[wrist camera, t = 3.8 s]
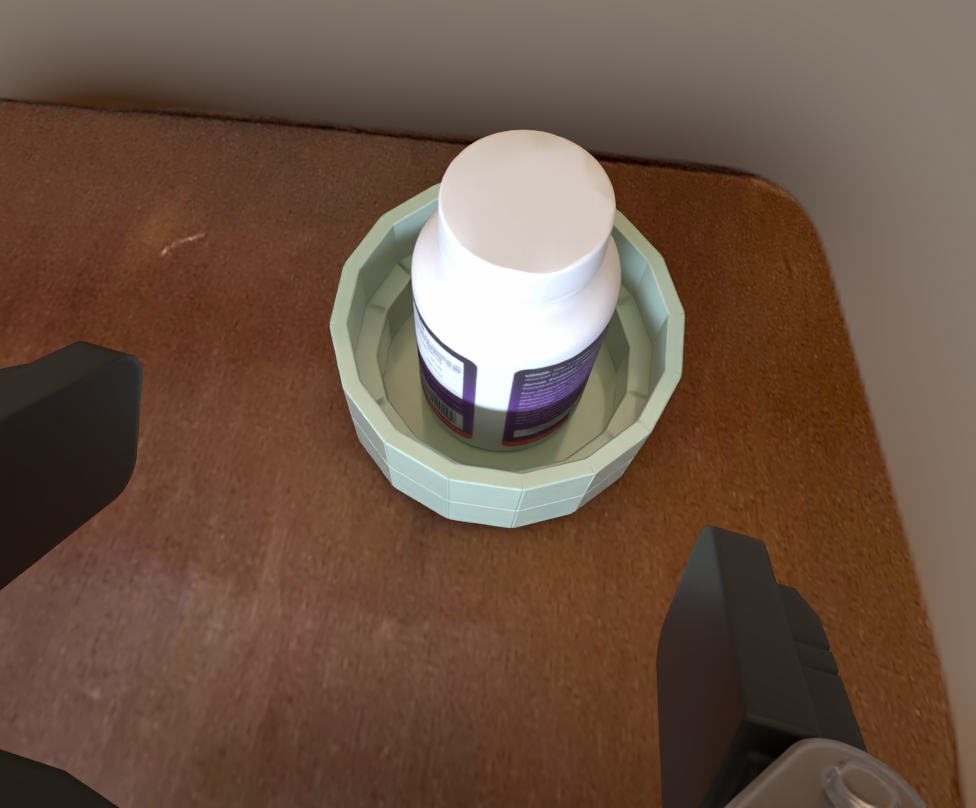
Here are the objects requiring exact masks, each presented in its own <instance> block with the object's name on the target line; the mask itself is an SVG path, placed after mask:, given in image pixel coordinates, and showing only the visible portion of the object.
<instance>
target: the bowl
mask: <svg viewBox="0 0 976 808" xmlns="http://www.w3.org/2000/svg"><path fill="white" fill-rule="evenodd" d="M440 185H441V183H438V184H436V185H434V186H432V187H430V188H428V189H427V190H425V191H423V192H421V193H420V194H418V195H416V196H415V197H413V198H411V199H409V200H408V201H406V202H404V203H403V204H401V205H399V206H397V207H396V208H394V209H392V210H391V211H389V212H387V213H385V214H384V215H383V216H381V217H380V219H379V220H378V221H377V222H376V224H375V225H374V226H373V228H372V229H371V230H370V231H369V233H368V234H367V235H366V237H365V238H364V239H363V240H362V242H361V243H360V244H359V246H358V247H357V248H356V249H355V251H354V252H353V253H352V255H351V256H350V257H349V258H348V260H347V261H346V262H345V265H344V266H343V270H342V274H341V278H340V283H339V287H338V291H337V295H336V299H335V303H334V307H333V312H332V316H331V320H330V330H331V335H332V339H333V344H334V349H335V354H336V358H337V363H338V368H339V373H340V377H341V382H342V386H343V390H344V393H345V396H346V400H347V403H348V406H349V410H350V413H351V416H352V420H353V423H354V426H355V429H356V433H357V436H358V438H359V440H360V442H361V443H362V445H363V446H364V447H365V449H366V450H367V451H368V453H369V454H370V455H371V457H372V458H373V460H374V461H375V462H376V464H377V465H378V466H379V468H380V469H381V470H382V472H383V473H384V475H385V476H386V477H387V479H388V480H389V481H390V483H391V484H392V485H393V486H394V487H395V488H396V489H398V490H400V491H401V492H403V493H405V494H406V495H408V496H410V497H411V498H413V499H415V500H417V501H418V502H420V503H422V504H423V505H425V506H427V507H428V508H430V509H432V510H433V511H435V512H437V513H439V514H440V515H442V516H444V517H445V518H448V519H451V520H458V521H465V522H472V523H479V524H485V525H492V526H499V527H506V528H511V527H512V528H515V527H519V526H523V525H527V524H532V523H536V522H540V521H544V520H548V519H552V518H556V517H560V516H564V515H568V514H572V513H573V512H575V511H576V510H578V509H579V508H580V507H582V506H583V505H584V504H586V503H587V502H588V501H590V500H591V499H592V498H594V497H595V496H596V495H598V494H599V493H600V492H602V491H603V490H604V489H606V488H607V487H608V486H610V485H611V484H612V483H614V482H615V481H616V480H618V479H619V478H620V476H622V474H623V473H624V472H625V470H626V469H627V467H628V466H629V464H630V463H631V461H632V460H633V458H634V457H635V455H636V454H637V453H638V451H639V450H640V448H641V447H642V445H643V444H644V442H645V441H646V439H647V438H648V436H649V435H650V433H651V432H652V430H653V429H654V427H655V425H656V423H657V421H658V419H659V417H660V416H661V414H662V412H663V410H664V408H665V406H666V404H667V403H668V401H669V399H670V397H671V395H672V393H673V392H674V390H675V388H676V386H677V384H678V382H679V380H680V379H681V375H682V366H683V346H684V326H685V314H684V310H683V307H682V305H681V302H680V300H679V297H678V294H677V292H676V289H675V287H674V284H673V282H672V279H671V277H670V274H669V272H668V269H667V267H666V264H665V261H664V259H663V257H662V256H661V254H660V253H659V252H658V251H657V250H656V249H655V248H654V247H653V246H652V245H651V243H650V242H649V241H648V240H647V239H646V238H645V237H644V236H643V235H642V234H641V233H640V232H639V231H638V230H637V229H636V228H635V227H634V226H633V225H632V223H631V222H630V221H629V220H628V219H627V218H626V217H625V216H624V215H623V214H622V213H621V212H620V211H618V210H617V209H616V214H615V220H614V226H613V229H612V232H611V235H612V237H613V239H614V241H615V244H616V247H617V251H618V254H619V259H620V266H621V285H620V291H619V296H618V300H617V304H616V308H615V311H614V314H613V316H612V319H611V321H610V324H609V327H608V329H607V332H606V335H605V337H604V340H603V342H602V345H601V347H600V350H599V352H598V355H597V357H596V360H595V363H594V365H593V368H592V370H591V373H590V376H589V379H588V381H587V384H586V387H585V389H584V392H583V395H582V397H581V399H580V402H579V404H578V406H577V408H576V410H575V411H574V413H573V415H572V416H571V418H570V419H569V420H568V422H567V423H566V424H565V425H564V426H563V427H562V428H561V429H560V430H559V431H558V432H557V433H555V434H554V435H553V436H551V437H550V438H548V439H547V440H545V441H543V442H541V443H539V444H536V445H534V446H531V447H527V448H524V449H519V450H511V451H495V450H488V449H483V448H480V447H476V446H473V445H471V444H469V443H466V442H464V441H462V440H461V439H459V438H457V437H455V436H454V435H453V434H451V433H450V432H449V431H448V430H446V429H445V428H444V427H443V426H442V425H441V424H440V423H439V421H438V420H437V419H436V418H435V416H434V415H433V413H432V412H431V410H430V408H429V406H428V404H427V402H426V399H425V396H424V393H423V389H422V385H421V380H420V372H419V359H418V350H417V340H416V328H415V316H414V305H413V295H412V274H411V271H412V258H413V252H414V247H415V245H416V242H417V239H418V236H419V234H420V232H421V230H422V228H423V226H424V225H425V223H426V222H427V220H428V218H429V217H430V216H431V215H432V214H433V213H434V211H435V210H436V209H437V208H438V197H439V190H440Z"/></svg>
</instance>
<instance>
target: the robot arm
mask: <svg viewBox="0 0 976 808" xmlns="http://www.w3.org/2000/svg"><path fill="white" fill-rule="evenodd" d="M141 388H142V368H141V364H140V362H139V360H138V359H137V357H135V356H133V355H130V354H126V353H123V352H119V351H116V350H112V349H109V348H106V347H102V346H99V345H95V344H92V343H89V342H85V341H78V342H75V343H73V344H71V345H69V346H66V347H64V348H62V349H60V350H58V351H55V352H53V353H51V354H49V355H47V356H44V357H42V358H40V359H38V360H36V361H33V362H31V363H29V364H24V365H18V366H13V367H8V368H3V369H0V590H1V589H3V588H4V587H5V586H6V585H8V584H9V583H10V582H11V581H13V580H14V579H15V578H16V577H18V576H19V575H20V574H21V573H23V572H24V571H25V570H27V569H28V568H29V567H30V566H32V565H33V564H34V563H35V562H37V561H38V560H39V559H40V558H42V557H43V556H44V555H45V554H47V553H48V552H49V551H50V550H52V549H53V548H54V547H56V546H57V545H58V544H59V543H61V542H62V541H63V540H64V539H66V538H67V537H68V536H69V535H71V534H72V533H73V532H74V531H76V530H77V529H78V528H79V527H81V526H82V525H83V524H85V523H86V522H87V521H88V520H90V519H91V518H92V517H93V516H95V515H96V514H97V513H98V512H100V511H101V510H102V509H103V508H105V507H106V506H107V505H109V504H110V503H111V502H112V501H114V500H115V499H116V498H117V497H118V496H119V495H120V494H121V493H122V491H123V490H124V488H125V487H126V485H127V484H128V482H129V480H130V478H131V475H132V473H133V470H134V467H135V463H136V457H137V444H138V430H139V416H140V402H141ZM829 647H830V646H829V643H828V640H827V637H826V634H825V632H824V629H823V626H822V623H821V620H820V618H819V616H818V615H817V614H816V613H815V612H814V611H813V609H812V608H811V607H810V606H809V605H808V603H807V602H806V601H805V600H804V599H803V598H802V596H801V595H800V594H799V593H798V592H797V590H796V589H795V588H791V587H788V586H785V585H781V584H778V583H777V582H776V579H775V576H774V572H773V569H772V565H771V562H770V559H769V555H768V552H767V548H766V545H765V543H764V542H763V541H762V540H759V539H755V538H752V537H748V536H745V535H741V534H738V533H735V532H731V531H728V530H724V529H721V528H717V527H714V526H711V525H706V526H705V527H704V528H703V529H702V531H701V532H700V534H699V536H698V538H697V541H696V543H695V545H694V548H693V550H692V553H691V555H690V558H689V560H688V563H687V565H686V568H685V570H684V573H683V575H682V578H681V580H680V583H679V585H678V588H677V590H676V593H675V595H674V598H673V600H672V603H671V605H670V608H669V610H668V613H667V615H666V618H665V621H664V624H663V627H662V631H661V635H660V639H659V644H658V650H657V660H656V669H657V692H658V715H659V738H660V761H661V784H662V807H663V808H928V807H927V806H926V804H925V803H924V802H923V800H922V799H921V797H920V796H919V795H918V794H917V793H916V792H915V790H914V789H913V788H912V787H911V786H910V785H909V784H908V783H907V782H906V781H905V780H904V779H903V778H902V777H901V776H900V775H898V774H897V773H896V772H895V771H893V770H892V769H891V768H890V767H888V766H887V765H885V764H884V763H882V762H881V761H879V760H878V759H876V758H875V757H873V756H871V755H869V754H868V752H867V749H866V746H865V744H864V741H863V738H862V735H861V732H860V730H859V727H858V724H857V721H856V718H855V716H854V713H853V710H852V707H851V704H850V702H849V699H848V696H847V693H846V690H845V688H844V685H843V682H842V679H841V677H840V676H837V673H838V668H837V665H836V662H835V660H834V657H833V654H832V652H830V651H829ZM0 808H119V807H118V806H116V805H115V804H113V803H112V802H110V801H109V800H107V799H106V798H104V797H103V796H101V795H100V794H98V793H97V792H95V791H94V790H93V789H91V788H90V787H88V786H87V785H85V784H84V783H82V782H81V781H79V780H78V779H76V778H75V777H73V776H72V775H71V774H69V773H68V772H66V771H64V770H61V769H58V768H55V767H52V766H49V765H46V764H43V763H40V762H37V761H34V760H31V759H28V758H25V757H22V756H19V755H16V754H13V753H10V752H7V751H4V750H0Z"/></svg>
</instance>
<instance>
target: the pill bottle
mask: <svg viewBox="0 0 976 808" xmlns="http://www.w3.org/2000/svg"><path fill="white" fill-rule="evenodd" d="M615 214H616V203H615V195H614V191H613V187H612V184H611V182H610V180H609V178H608V176H607V174H606V172H605V171H604V169H603V168H602V167H601V165H600V164H599V163H598V162H597V160H596V159H595V158H593V157H592V156H591V155H590V154H589V153H588V152H587V151H586V150H584V149H583V148H581V147H580V146H578V145H577V144H575V143H573V142H571V141H569V140H567V139H565V138H562V137H559V136H556V135H553V134H551V133H546V132H541V131H534V130H513V131H505V132H500V133H496V134H493V135H490V136H486V137H484V138H482V139H480V140H478V141H476V142H474V143H473V144H471V145H469V146H468V147H467V148H465V149H464V150H463V151H462V152H461V153H460V154H459V155H458V156H457V157H456V158H455V159H454V160H453V161H452V163H451V164H450V165H449V167H448V169H447V171H446V172H445V175H444V177H443V179H442V182H441V185H440V190H439V197H438V208H437V209H436V210H435V211H434V213H433V214H432V215H431V216H430V217H429V218H428V220H427V222H426V223H425V225H424V226H423V228H422V230H421V232H420V234H419V236H418V239H417V242H416V245H415V247H414V252H413V258H412V271H411V274H412V295H413V305H414V316H415V328H416V340H417V350H418V359H419V372H420V380H421V385H422V389H423V393H424V396H425V399H426V402H427V404H428V406H429V408H430V410H431V412H432V413H433V415H434V416H435V418H436V419H437V420H438V421H439V423H440V424H441V425H442V426H443V427H444V428H445V429H446V430H448V431H449V432H450V433H451V434H453V435H454V436H455V437H457V438H459V439H461V440H462V441H464V442H466V443H469V444H471V445H473V446H476V447H480V448H483V449H488V450H495V451H511V450H519V449H524V448H527V447H531V446H534V445H536V444H539V443H541V442H543V441H545V440H547V439H548V438H550V437H551V436H553V435H554V434H555V433H557V432H558V431H559V430H560V429H561V428H562V427H563V426H564V425H565V424H566V423H567V422H568V420H569V419H570V418H571V416H572V415H573V413H574V411H575V410H576V408H577V406H578V404H579V402H580V399H581V397H582V395H583V392H584V389H585V387H586V384H587V381H588V379H589V376H590V373H591V370H592V368H593V365H594V363H595V360H596V357H597V355H598V352H599V350H600V347H601V345H602V342H603V340H604V337H605V335H606V332H607V329H608V327H609V324H610V321H611V319H612V316H613V314H614V311H615V308H616V304H617V300H618V296H619V291H620V285H621V266H620V259H619V254H618V251H617V247H616V244H615V241H614V239H613V237H612V235H611V232H612V229H613V226H614V220H615Z"/></svg>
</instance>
